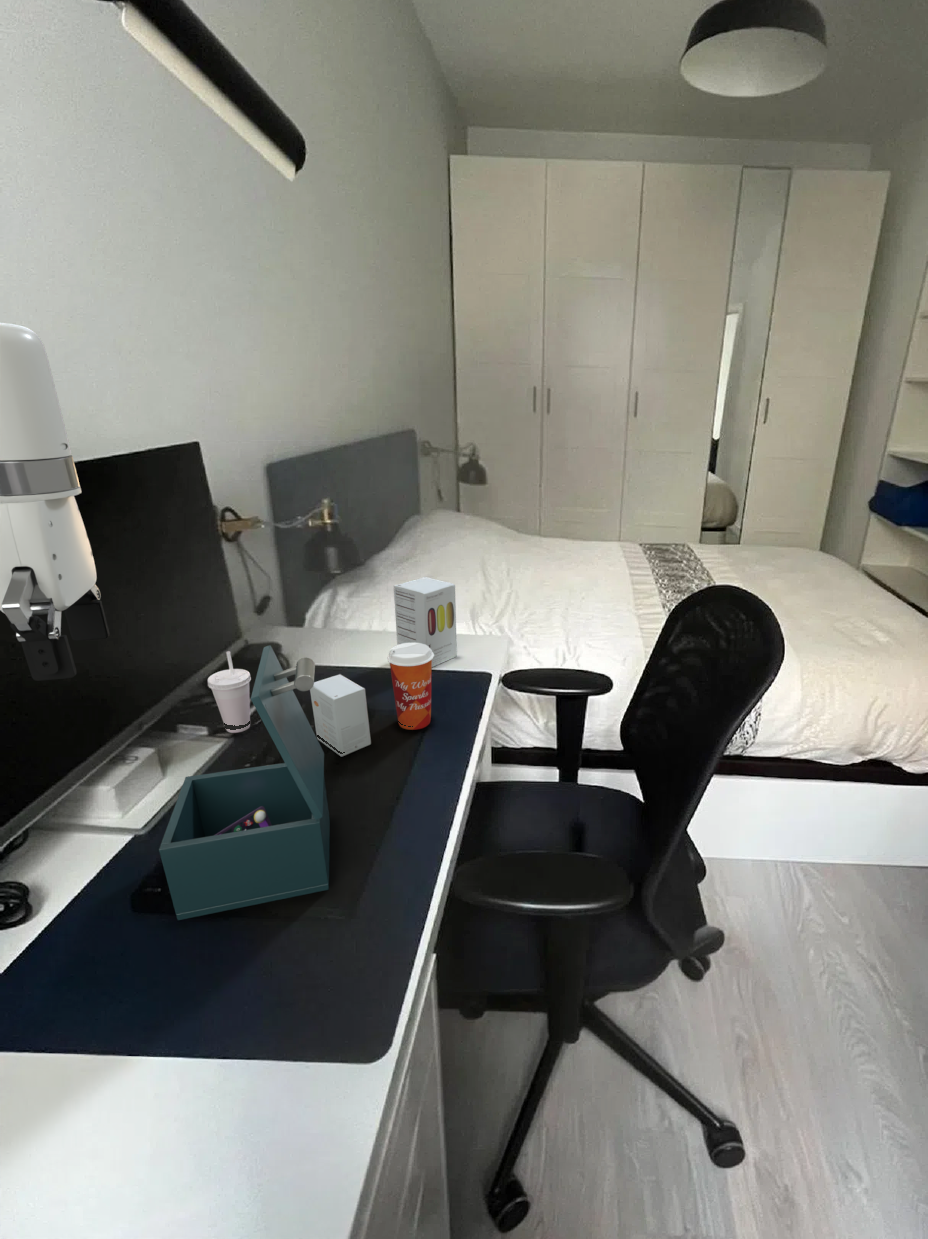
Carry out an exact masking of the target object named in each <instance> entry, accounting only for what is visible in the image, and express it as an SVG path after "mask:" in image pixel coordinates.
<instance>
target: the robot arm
mask: <svg viewBox="0 0 928 1239" xmlns="http://www.w3.org/2000/svg"><path fill="white" fill-rule="evenodd" d="M80 494H82V488H81V484H80V482H79V477H78V473H77V468H76V465H75V461H74V457H73V451H72V448H71V444H70V440H69V435H68V433H67V428H66V424H65V421H64V417H63V413H62V408H61V404H60V400H59V397H58V392H57V387H56V385H55V381H54V376H53V373H52V369H51V365H50V361H49V356H48V352H47V350H46V347H45V344H44V343H43V340H42V339H41V338H40V336H39V335H38V334H37V333H36V332H35V331H34V330H33V329H31V328H29V327H27V326H23V325H20V324H15V323H10V322H3V321H2V322H1V321H0V612H2V613H3V614H5V616H6V618H7V619H8V621H9V627H10V628H11V630H13V632H15V637H16V639H17V641H18V642H19V643H20V644H21V647H22V650H23V654H24V656H25V659H26V664H27V666H28V669H29V672H30V676H31V677H32V680H33V681H37V682H41V681H51V680H53V681H54V680H62V679H63V680H64V679H72V678H74V677H75V676H76V675H77V673H78V672H77V666H76V664H75V661H74V656H73V653H72V649H71V647H70V643H69V639H68V636H67V634H62V633H61V632H62V629H61V628H62V612H64V615H65V619H66V624H67V626H68V630H69V633H70V637H71V639H72V640H73V641H75V642H79V641H80V642H81V641H92V640H93V641H94V640H107V639H108V637H109V636H110V634H111V633H110V630H109V625H108V620H107V617H106V614H105V609H104V605H103V602H102V600H101V597H102V596H101V591H100V589H99V587H98V586H97V584H96V582H97V579H98V577H97V568H96V564H95V559H94V558H95V557H94V556H93V550H92V546H91V542H90V540H89V536H88V533H87V530H86V526H85V524H84V521H83V518H82V515H81V512H80V509H79V506H78V503H77V500H76V497H75V496H78V495H80ZM31 603H32V604H31ZM42 615H47V622H46V621H44V619H42V618H41V617H40V616H42Z"/></svg>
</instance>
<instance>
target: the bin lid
mask: <svg viewBox="0 0 928 1239" xmlns="http://www.w3.org/2000/svg"><path fill="white" fill-rule="evenodd" d="M315 670H316V663H315V661H314V660H313V659H312V658H309V657H302V658H300V659H299V660H298V661H296V664H295V666H293V667H290V668H287V669H285V670H283V667H282V666H281V663H280V662H279V659H278V657H277V655H276V653H275V651H274V649H273V647H272V645H271V644H270V645H267V646H264V647H263V649H262V653H261V657H260V661H259V664H258V669H257V673H256V675H255V681H254V683H253V688H252V692H251V696H250V701H251V702H252V704H253V706H254V708H255V710H256V711H257V714H258V715H259V717H260V719H261V722H262V723H263V725H264V726H265V728H266V730H267V732H268V734H269V736H270V738H271V739H272V741H273V743H274V746H275V747H276V750H277V751H278V752H279V755H280V756H281V758H282V760H283V763H285V764H286V766H287V768H288V769H289V771H290V773H291V775H292V777H293V779H294V781H295V783H296V784H297V786H298V788H299V790H300V792H301V794H302V796H303V797H304V799H305V801H306V803H307V805H308V807H309V809H310V811H311V812H312V814H313V816H314V818H315V820H317V819H320V818H322V817H323V779H325V772H324V771H325V752H324V750H323V748H322V746H321V744H320V741H319V740H318V739H317V735H316V734H315V732H314V730H313V728H312V726H311V724H310V722H309V720H308V718H307V715H306V713H305V712H304V710H303V708H302V706H301V703H300V701H299V700H298V697H297V695H296V694H295V691H294V690H295V689H296V690H298V691H300V692H309V691H310V689H311V688H312V687H313V685H314V682H315ZM292 676H294V679H293V681H289V679H288V678H289V677H292Z"/></svg>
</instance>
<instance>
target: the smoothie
mask: <svg viewBox="0 0 928 1239" xmlns="http://www.w3.org/2000/svg"><path fill="white" fill-rule="evenodd" d="M225 653H226V658H227V664H228V669H223V670H220V671H217V672H215V673H213V674H211V675H210V676H208V678H207V687H208V689H211V691H212V694H213V697H214V700H215V702H216V706H217V708H218V711H219V714H220V716H221V720H222V722H223V724H224V723H225V724H227V725H233V726H234V725H235V726H239V725H245V724H247V723H248V722H249V721H250V722H251V707H250V706H251V702H250V701H251V696H250V682H251V680H252V677H251V673H250V672H249V671H248V670H246V669H243V668H234V665H233V660H232V655H231V651H229V650H228V651H226V652H225ZM250 727H251V723H250V724H249V725H248V726H246V727H244V728H241V729H236V730H230V729H226V728H225V731H226V732H228V733H231V734H237V733H242V732H244V731H247V730H249V729H250Z"/></svg>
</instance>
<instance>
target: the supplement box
mask: <svg viewBox="0 0 928 1239" xmlns="http://www.w3.org/2000/svg"><path fill="white" fill-rule="evenodd" d="M393 599H394V613H395V615H394V616H395V629H396V630H395V631H396V645H399V644H403V643H422V644H425V645H427V646H428V647H429V648H430V649H431V650H432V652H433V653H434V657H433V659H432V668H434V667H436V666H439V665H441V664H443V663H445V662H447V661H449V660H451V659H454V658H456V657H457V656H458V650H457V648H458V646H457V644H458V642H457V605H456V604H457V603H456V584H454V583H452V582H449V581H448V582H447V581H444V580H441V579H436V578H432V577H427V576H422V577H419V578H417V579H414V580H413V579H412V580H410V581H406V582H402V583H399V584H394V585H393Z"/></svg>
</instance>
